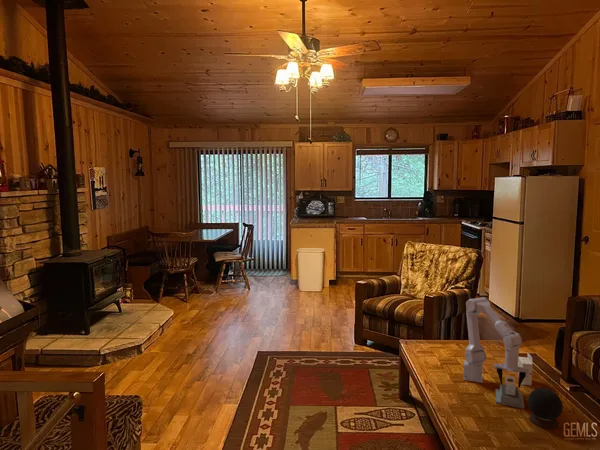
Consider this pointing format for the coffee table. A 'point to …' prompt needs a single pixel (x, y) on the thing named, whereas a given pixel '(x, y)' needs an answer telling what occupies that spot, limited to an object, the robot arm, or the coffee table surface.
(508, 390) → the housing
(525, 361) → the ink cartridge box
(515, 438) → the coffee table surface
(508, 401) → the stand
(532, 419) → the black ball on base
